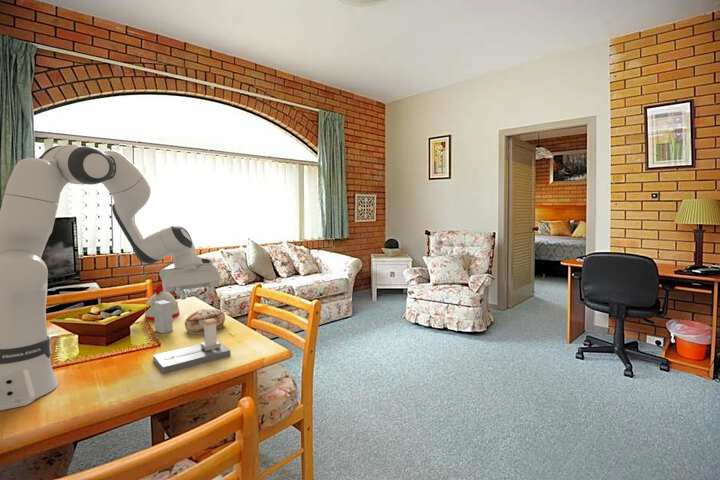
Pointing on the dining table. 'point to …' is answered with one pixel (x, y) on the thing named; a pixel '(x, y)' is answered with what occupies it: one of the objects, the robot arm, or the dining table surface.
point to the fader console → (188, 357)
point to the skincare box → (163, 316)
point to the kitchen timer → (160, 296)
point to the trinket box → (196, 320)
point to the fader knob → (210, 335)
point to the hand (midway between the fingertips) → (197, 296)
